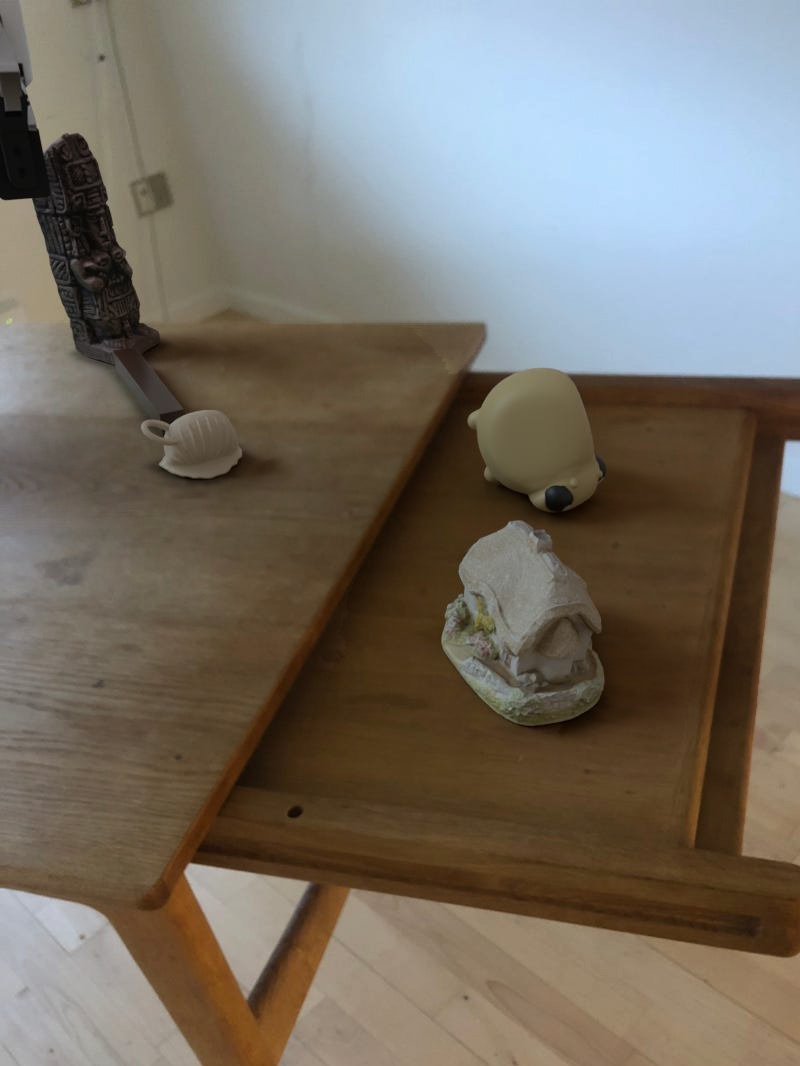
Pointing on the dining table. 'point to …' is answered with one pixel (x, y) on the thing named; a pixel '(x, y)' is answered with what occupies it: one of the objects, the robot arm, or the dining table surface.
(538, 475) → the toy pig
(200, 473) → the decorative ornament
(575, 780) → the dining table surface
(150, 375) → the walnut stick
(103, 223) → the statue
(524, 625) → the ceramic model
